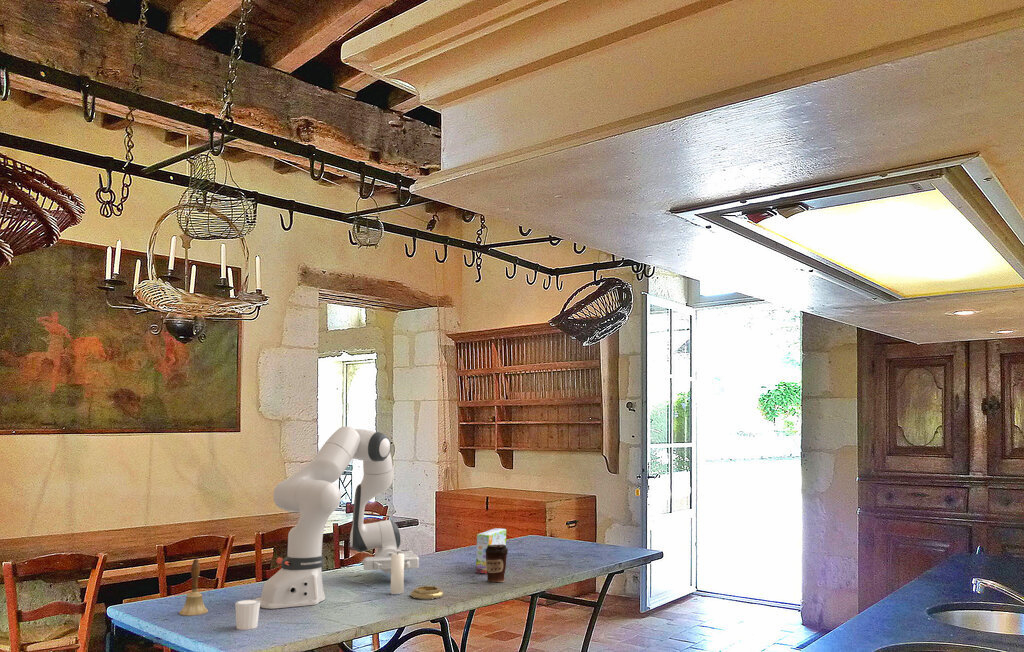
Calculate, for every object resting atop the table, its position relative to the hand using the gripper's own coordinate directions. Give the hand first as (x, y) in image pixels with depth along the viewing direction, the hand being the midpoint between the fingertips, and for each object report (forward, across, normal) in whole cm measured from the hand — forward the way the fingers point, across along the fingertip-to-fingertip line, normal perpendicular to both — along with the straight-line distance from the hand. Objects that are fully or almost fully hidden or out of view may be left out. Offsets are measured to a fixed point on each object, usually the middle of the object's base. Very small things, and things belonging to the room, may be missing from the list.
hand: (393, 566), depth 287 cm
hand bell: (+25, -64, +7) cm, 69 cm away
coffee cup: (-1, +38, +7) cm, 39 cm away
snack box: (-25, +42, +7) cm, 50 cm away
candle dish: (+19, +9, +7) cm, 22 cm away
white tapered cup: (+48, -47, +7) cm, 67 cm away
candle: (+12, 0, +7) cm, 14 cm away
